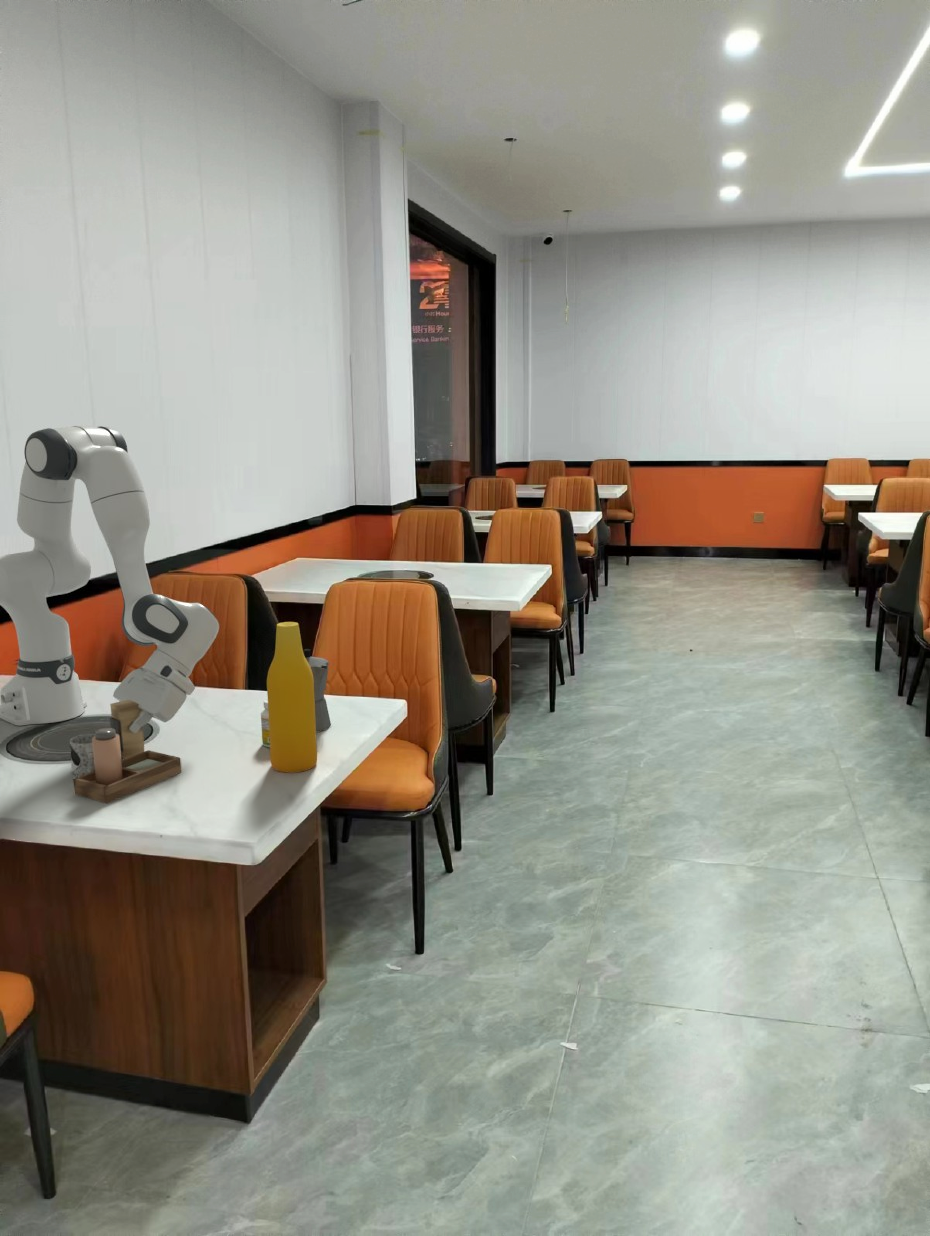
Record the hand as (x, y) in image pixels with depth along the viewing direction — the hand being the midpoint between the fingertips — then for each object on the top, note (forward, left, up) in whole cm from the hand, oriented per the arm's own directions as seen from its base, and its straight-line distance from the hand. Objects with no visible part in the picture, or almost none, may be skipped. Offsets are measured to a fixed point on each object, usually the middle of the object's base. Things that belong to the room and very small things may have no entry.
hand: (124, 728), depth 204 cm
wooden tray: (+13, -10, -6) cm, 18 cm away
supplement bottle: (+22, +21, -6) cm, 31 cm away
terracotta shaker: (+13, -15, -4) cm, 20 cm away
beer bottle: (+34, +13, -6) cm, 37 cm away
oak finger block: (0, +1, -6) cm, 6 cm away
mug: (+2, -10, -6) cm, 12 cm away
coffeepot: (+20, +34, -6) cm, 40 cm away
